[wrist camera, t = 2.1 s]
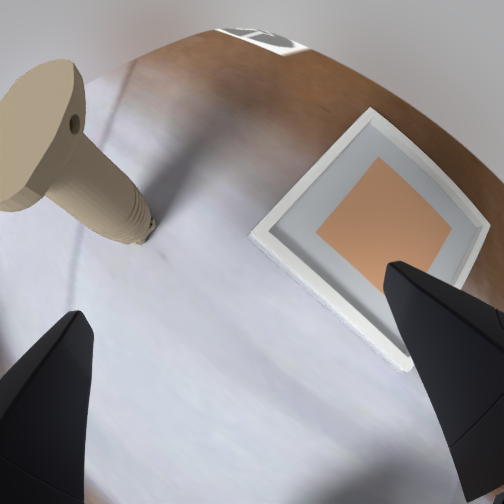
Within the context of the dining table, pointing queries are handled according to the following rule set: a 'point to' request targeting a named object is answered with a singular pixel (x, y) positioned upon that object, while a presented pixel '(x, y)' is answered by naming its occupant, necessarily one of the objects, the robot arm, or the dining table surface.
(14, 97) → the handle
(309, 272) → the white shallow tray
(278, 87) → the dining table surface
